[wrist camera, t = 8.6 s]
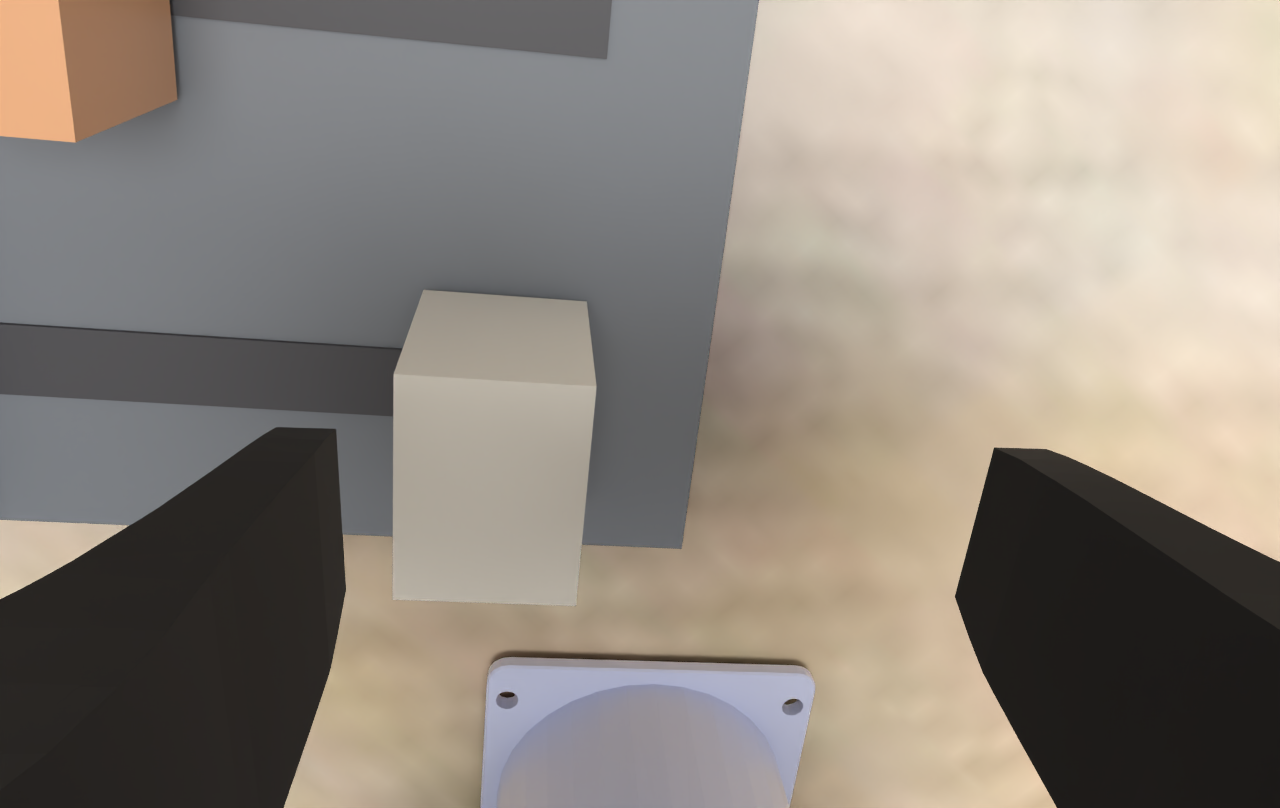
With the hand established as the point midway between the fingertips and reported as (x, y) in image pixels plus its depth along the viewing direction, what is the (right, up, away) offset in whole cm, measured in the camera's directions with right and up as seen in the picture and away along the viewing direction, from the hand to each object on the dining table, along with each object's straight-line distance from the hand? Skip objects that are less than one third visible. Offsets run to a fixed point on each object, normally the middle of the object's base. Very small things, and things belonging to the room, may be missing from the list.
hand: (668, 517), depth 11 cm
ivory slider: (-3, +1, +8) cm, 9 cm away
